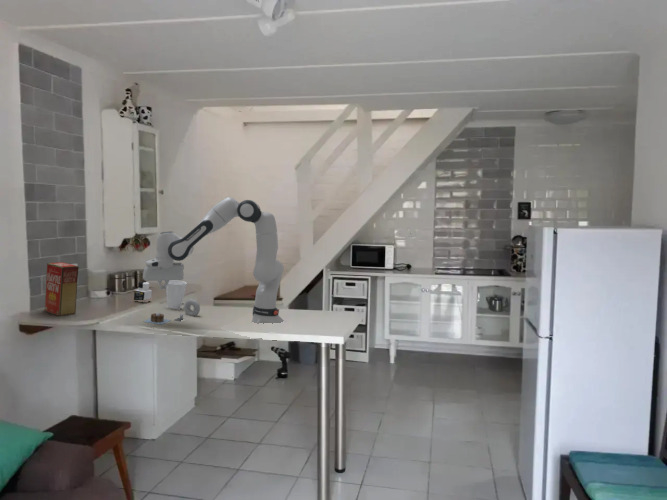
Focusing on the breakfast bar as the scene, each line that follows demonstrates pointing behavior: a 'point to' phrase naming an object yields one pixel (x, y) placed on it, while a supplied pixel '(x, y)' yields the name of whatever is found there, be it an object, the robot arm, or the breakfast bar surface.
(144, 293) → the medicine bottle
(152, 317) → the ring
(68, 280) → the food packaging
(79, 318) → the breakfast bar surface
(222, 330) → the breakfast bar surface
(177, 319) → the stand
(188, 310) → the donut
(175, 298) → the cup
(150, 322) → the hub
